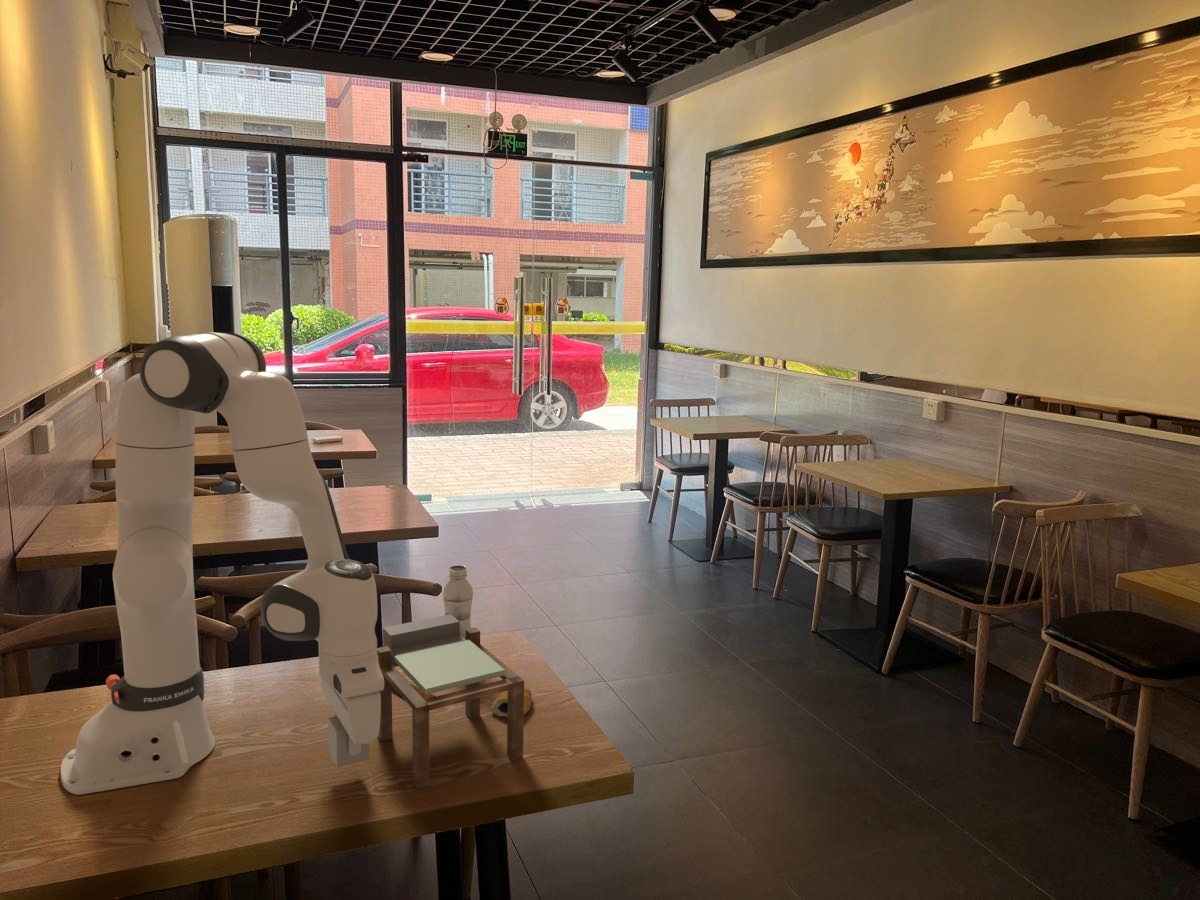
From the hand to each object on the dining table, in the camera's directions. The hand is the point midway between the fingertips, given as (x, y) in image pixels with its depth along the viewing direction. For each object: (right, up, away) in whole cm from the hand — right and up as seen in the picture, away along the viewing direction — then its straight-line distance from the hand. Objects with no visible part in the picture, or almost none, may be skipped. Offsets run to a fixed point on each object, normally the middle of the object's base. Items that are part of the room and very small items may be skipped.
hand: (348, 743), depth 138 cm
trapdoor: (+13, +8, +11) cm, 19 cm away
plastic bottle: (+10, +3, +46) cm, 47 cm away
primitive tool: (+2, -1, +30) cm, 30 cm away
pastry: (+24, -2, +25) cm, 35 cm away
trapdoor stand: (+14, -4, +11) cm, 18 cm away
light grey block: (0, -2, 0) cm, 2 cm away
